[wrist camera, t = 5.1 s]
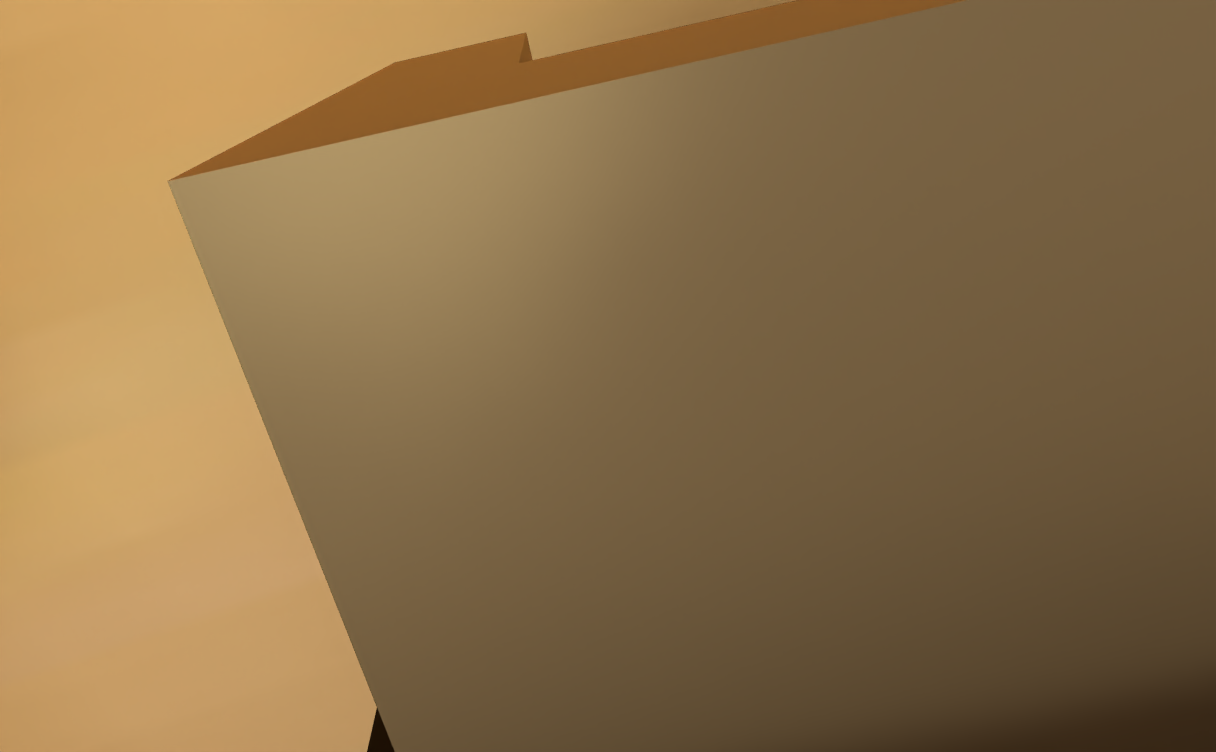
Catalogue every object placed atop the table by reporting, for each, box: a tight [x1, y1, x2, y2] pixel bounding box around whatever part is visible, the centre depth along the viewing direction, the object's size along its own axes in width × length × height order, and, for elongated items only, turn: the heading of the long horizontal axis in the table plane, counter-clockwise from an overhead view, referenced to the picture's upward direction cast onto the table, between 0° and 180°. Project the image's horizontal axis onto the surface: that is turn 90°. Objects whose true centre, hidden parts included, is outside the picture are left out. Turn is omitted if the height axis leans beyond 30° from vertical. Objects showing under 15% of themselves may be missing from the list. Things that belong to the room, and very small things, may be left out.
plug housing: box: [168, 0, 1216, 752], centre depth 9 cm, size 12×6×6 cm, turn 12°
